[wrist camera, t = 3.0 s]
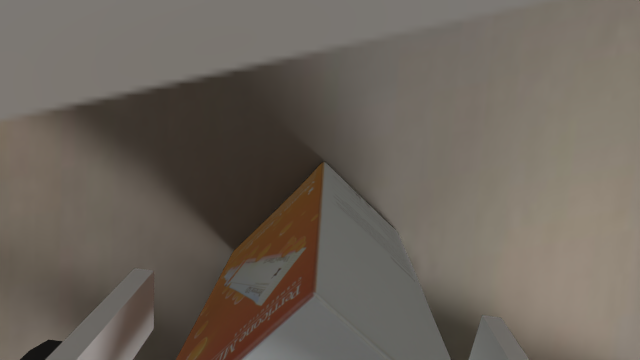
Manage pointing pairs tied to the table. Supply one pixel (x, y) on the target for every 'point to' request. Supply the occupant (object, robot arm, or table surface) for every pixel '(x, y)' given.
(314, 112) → the table surface
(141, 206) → the table surface
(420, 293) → the small box
